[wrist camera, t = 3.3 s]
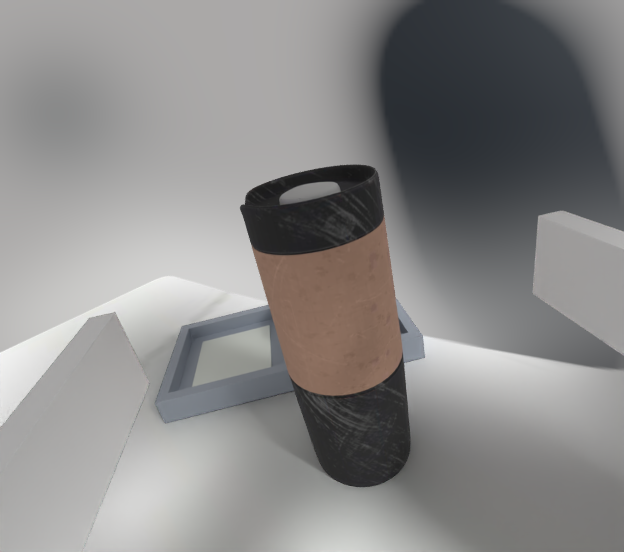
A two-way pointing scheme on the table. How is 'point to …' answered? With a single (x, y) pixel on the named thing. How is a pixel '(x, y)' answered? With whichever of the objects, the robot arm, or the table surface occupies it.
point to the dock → (238, 363)
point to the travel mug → (335, 314)
